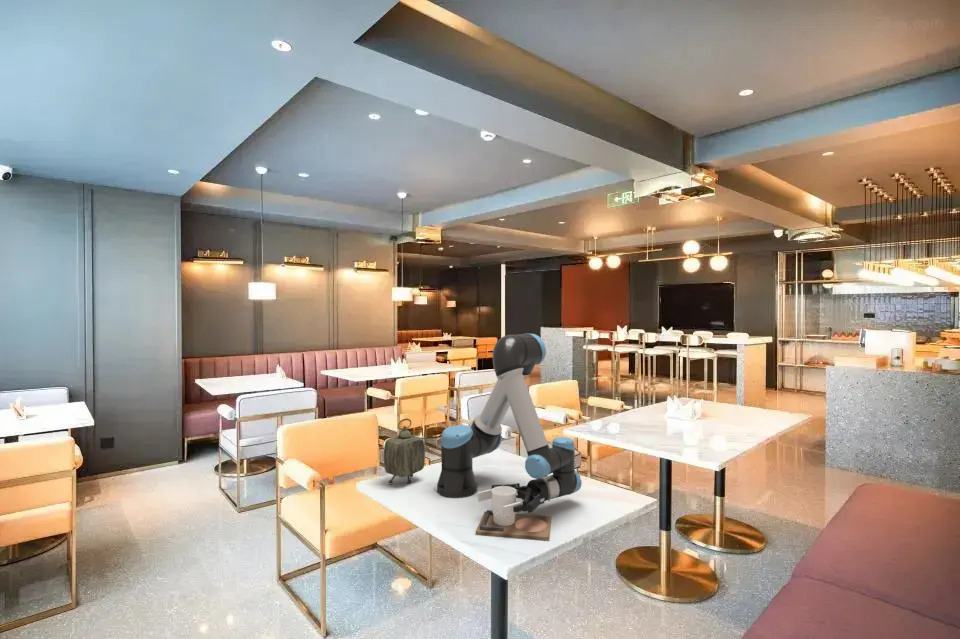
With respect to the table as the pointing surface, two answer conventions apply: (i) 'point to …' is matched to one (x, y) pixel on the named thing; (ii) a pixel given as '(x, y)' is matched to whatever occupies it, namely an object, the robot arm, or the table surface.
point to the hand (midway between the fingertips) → (490, 503)
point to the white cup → (503, 504)
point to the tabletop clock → (404, 454)
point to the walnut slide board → (516, 527)
